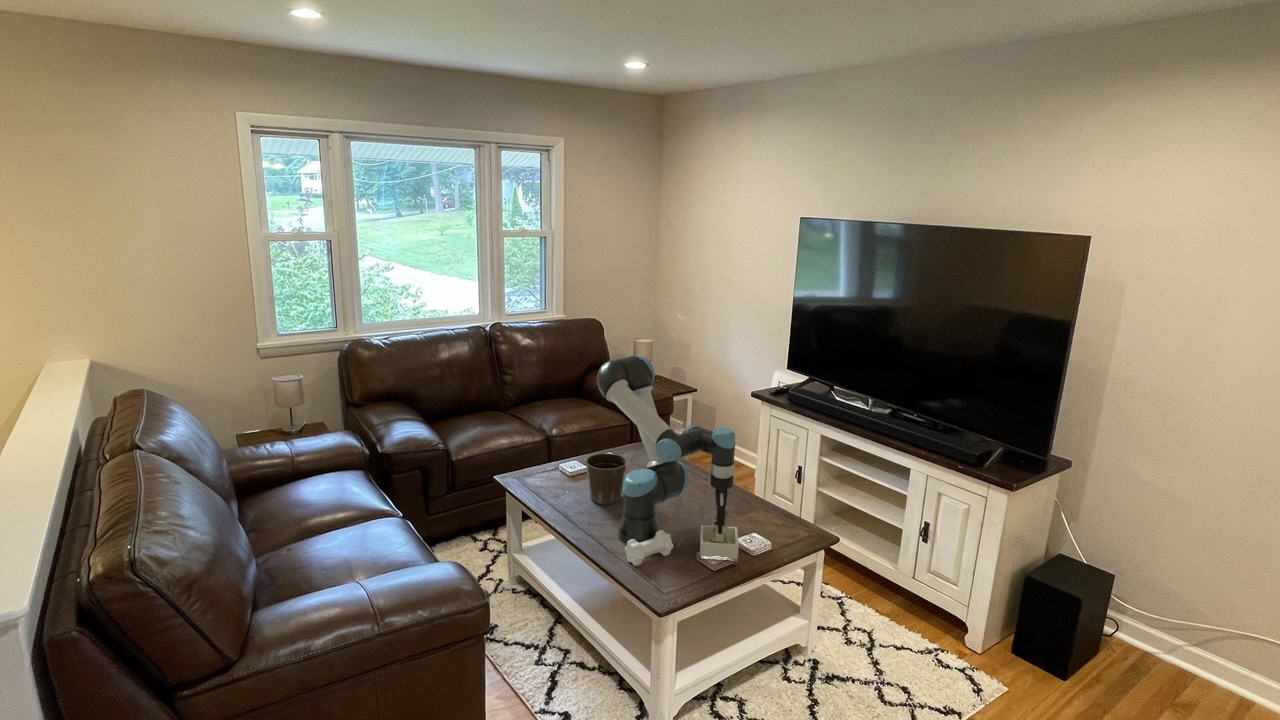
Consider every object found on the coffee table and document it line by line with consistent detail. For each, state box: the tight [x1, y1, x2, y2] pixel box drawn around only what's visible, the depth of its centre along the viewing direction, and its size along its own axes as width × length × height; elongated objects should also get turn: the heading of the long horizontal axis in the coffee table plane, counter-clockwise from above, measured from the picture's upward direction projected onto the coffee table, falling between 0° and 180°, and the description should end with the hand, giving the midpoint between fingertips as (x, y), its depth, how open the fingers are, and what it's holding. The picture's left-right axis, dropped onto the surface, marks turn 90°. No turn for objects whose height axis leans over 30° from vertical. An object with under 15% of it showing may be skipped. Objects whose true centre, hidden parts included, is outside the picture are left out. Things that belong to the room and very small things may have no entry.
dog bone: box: [624, 529, 674, 567], centre depth 224 cm, size 15×9×8 cm, turn 124°
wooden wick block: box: [711, 503, 729, 544], centre depth 228 cm, size 5×3×14 cm, turn 84°
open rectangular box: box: [699, 524, 740, 563], centre depth 229 cm, size 13×13×6 cm
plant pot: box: [585, 452, 628, 506], centre depth 266 cm, size 16×16×16 cm
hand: (719, 538), depth 229 cm, fingers closed on wooden wick block, 3 cm apart
